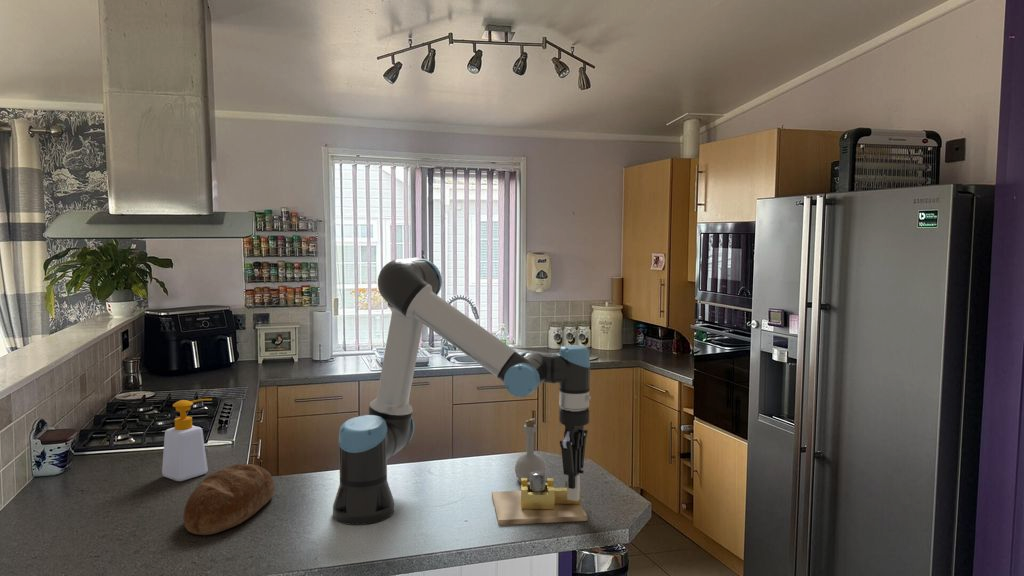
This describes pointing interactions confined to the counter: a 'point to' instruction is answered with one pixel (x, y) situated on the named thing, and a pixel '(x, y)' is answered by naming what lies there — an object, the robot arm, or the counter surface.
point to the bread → (227, 498)
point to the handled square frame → (544, 496)
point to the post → (537, 481)
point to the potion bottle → (529, 455)
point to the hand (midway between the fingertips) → (573, 499)
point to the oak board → (532, 511)
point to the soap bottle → (184, 447)
